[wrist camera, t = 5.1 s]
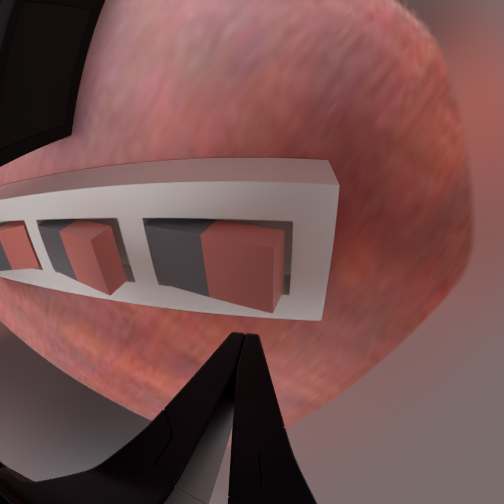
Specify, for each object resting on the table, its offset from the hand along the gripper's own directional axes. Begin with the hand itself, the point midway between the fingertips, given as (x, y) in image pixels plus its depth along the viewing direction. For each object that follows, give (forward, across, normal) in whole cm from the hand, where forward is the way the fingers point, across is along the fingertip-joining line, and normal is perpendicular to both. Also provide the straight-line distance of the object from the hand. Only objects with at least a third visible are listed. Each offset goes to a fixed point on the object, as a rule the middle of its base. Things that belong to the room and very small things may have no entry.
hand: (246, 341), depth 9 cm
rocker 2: (+5, +10, 0) cm, 11 cm away
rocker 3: (+5, +2, 0) cm, 5 cm away
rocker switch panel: (+9, +12, 0) cm, 14 cm away
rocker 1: (+5, +18, 0) cm, 19 cm away
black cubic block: (+9, +13, -12) cm, 20 cm away
